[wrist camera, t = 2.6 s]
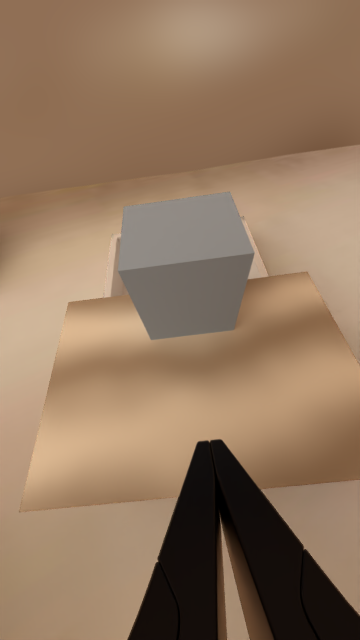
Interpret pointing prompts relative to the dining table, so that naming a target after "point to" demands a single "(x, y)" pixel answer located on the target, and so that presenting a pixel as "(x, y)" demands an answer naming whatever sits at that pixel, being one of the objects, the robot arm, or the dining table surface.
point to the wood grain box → (196, 400)
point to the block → (185, 264)
